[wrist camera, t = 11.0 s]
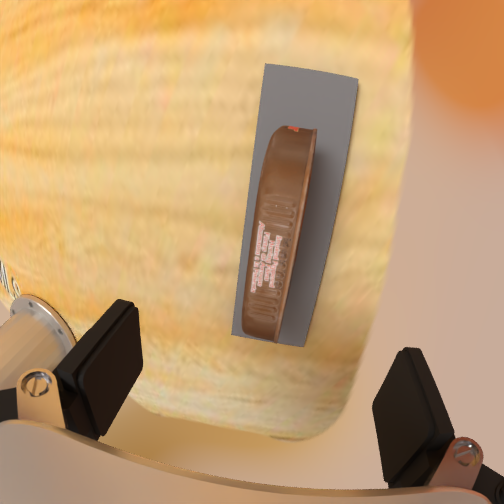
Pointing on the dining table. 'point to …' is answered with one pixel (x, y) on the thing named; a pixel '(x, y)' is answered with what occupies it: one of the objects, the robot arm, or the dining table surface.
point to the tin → (277, 229)
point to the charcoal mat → (321, 184)
